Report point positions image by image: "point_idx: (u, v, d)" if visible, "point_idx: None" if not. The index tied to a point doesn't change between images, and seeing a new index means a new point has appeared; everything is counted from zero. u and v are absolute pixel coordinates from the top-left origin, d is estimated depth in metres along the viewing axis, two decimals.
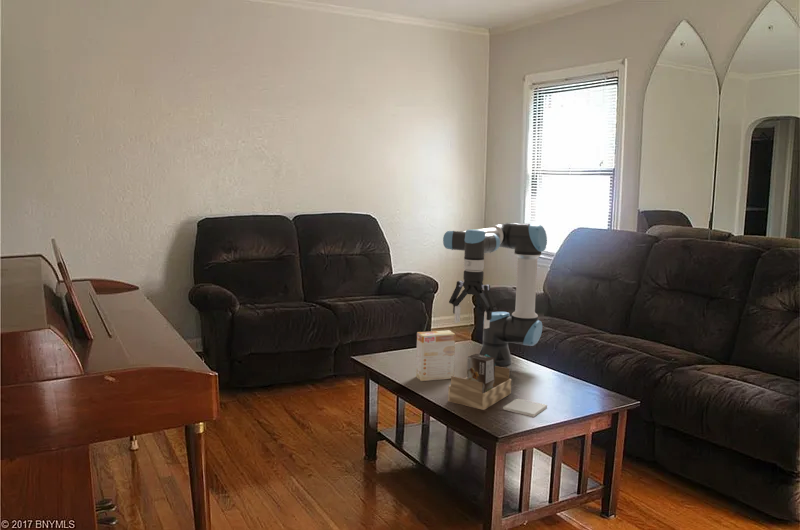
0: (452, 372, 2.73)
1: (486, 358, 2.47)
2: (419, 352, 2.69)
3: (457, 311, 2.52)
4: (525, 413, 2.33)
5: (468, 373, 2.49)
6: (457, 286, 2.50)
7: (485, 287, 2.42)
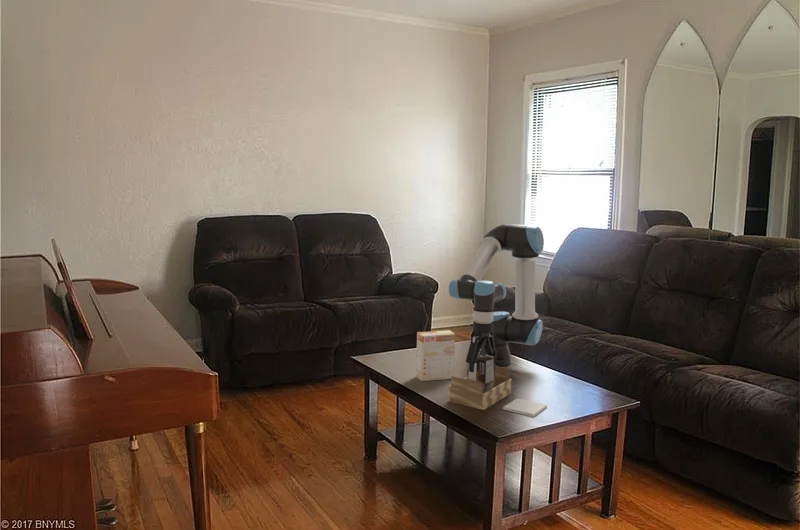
0: (452, 372, 2.73)
1: (486, 358, 2.47)
2: (419, 352, 2.69)
3: None
4: (525, 413, 2.33)
5: (468, 373, 2.49)
6: None
7: None
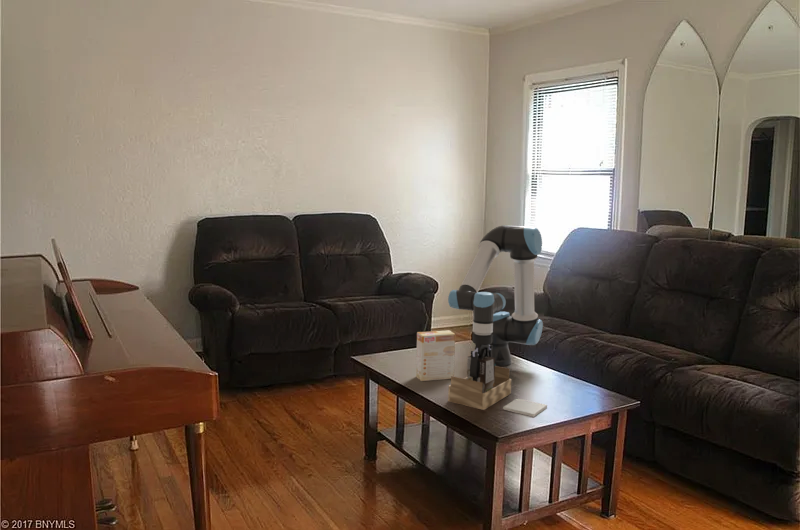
0: (452, 372, 2.73)
1: (486, 358, 2.47)
2: (419, 352, 2.69)
3: None
4: (525, 413, 2.33)
5: (468, 373, 2.49)
6: None
7: None
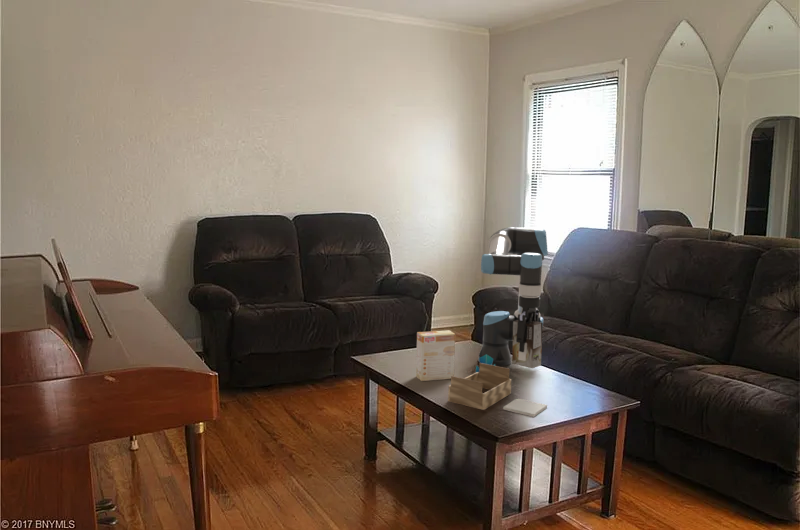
0: (452, 372, 2.73)
1: (533, 322, 2.33)
2: (419, 352, 2.69)
3: None
4: (525, 413, 2.33)
5: (514, 339, 2.36)
6: None
7: None
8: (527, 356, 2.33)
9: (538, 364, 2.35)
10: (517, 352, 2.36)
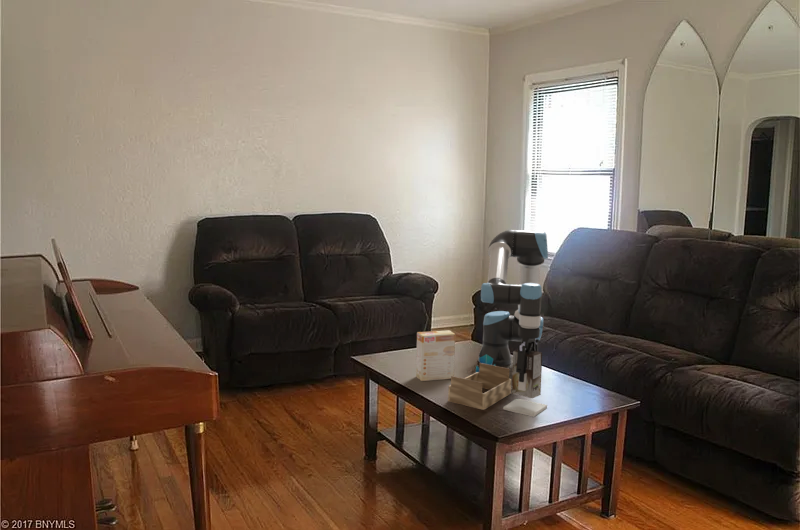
0: (452, 372, 2.73)
1: (533, 352, 2.35)
2: (419, 352, 2.69)
3: None
4: (525, 413, 2.33)
5: (514, 368, 2.38)
6: None
7: None
8: (527, 386, 2.34)
9: (538, 394, 2.36)
10: (517, 382, 2.37)
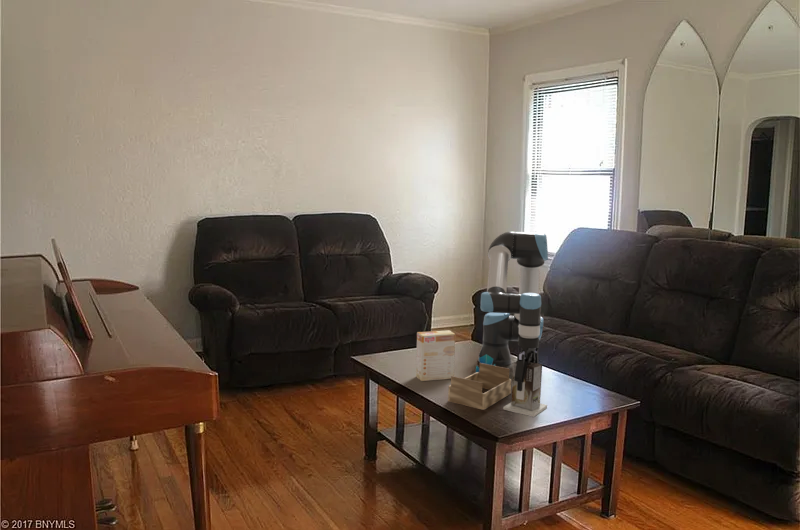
0: (452, 372, 2.73)
1: (533, 364, 2.36)
2: (419, 352, 2.69)
3: None
4: (525, 413, 2.33)
5: (513, 380, 2.38)
6: None
7: None
8: (526, 398, 2.35)
9: (537, 406, 2.37)
10: None
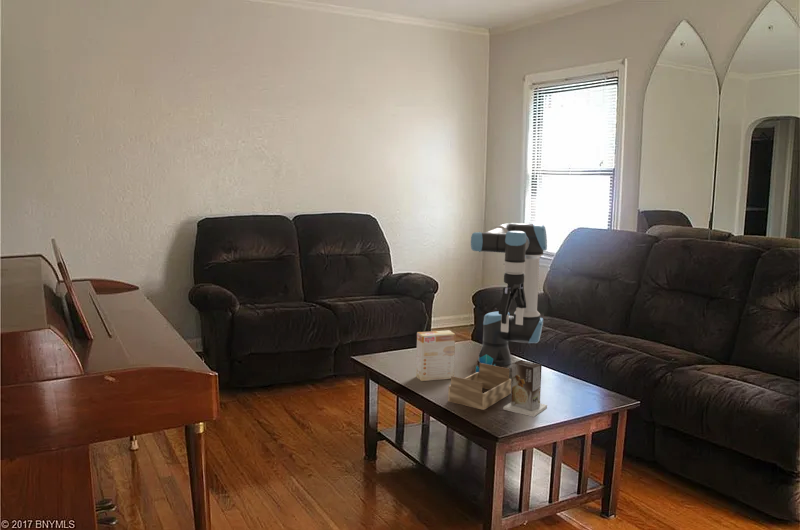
0: (452, 372, 2.73)
1: (532, 365, 2.35)
2: (419, 352, 2.69)
3: (517, 313, 2.50)
4: (525, 413, 2.33)
5: (513, 380, 2.38)
6: None
7: None
8: (526, 399, 2.35)
9: (537, 406, 2.37)
10: (516, 394, 2.37)
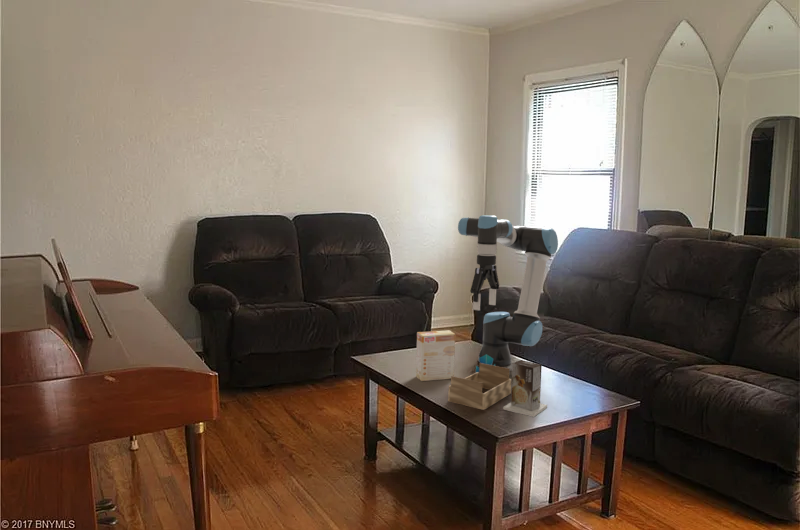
0: (452, 372, 2.73)
1: (532, 365, 2.35)
2: (419, 352, 2.69)
3: (491, 294, 2.65)
4: (525, 413, 2.33)
5: (513, 380, 2.38)
6: None
7: None
8: (526, 399, 2.35)
9: (537, 406, 2.37)
10: (516, 394, 2.37)
